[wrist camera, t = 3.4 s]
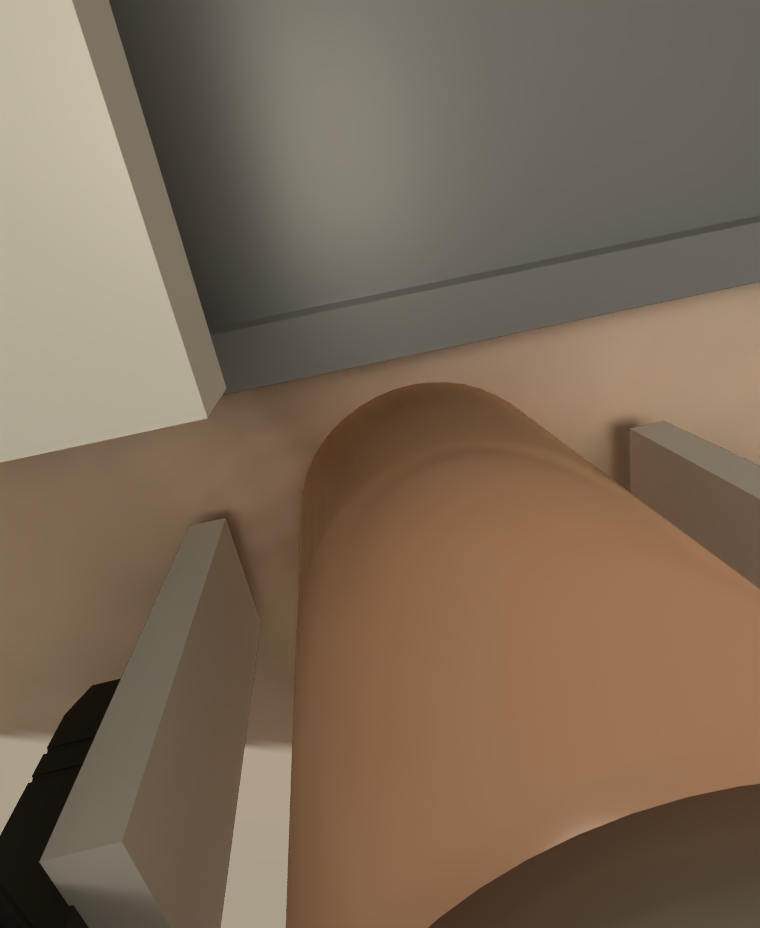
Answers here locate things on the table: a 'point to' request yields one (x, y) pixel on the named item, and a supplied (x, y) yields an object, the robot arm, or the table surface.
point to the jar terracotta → (512, 688)
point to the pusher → (87, 245)
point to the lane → (445, 165)
